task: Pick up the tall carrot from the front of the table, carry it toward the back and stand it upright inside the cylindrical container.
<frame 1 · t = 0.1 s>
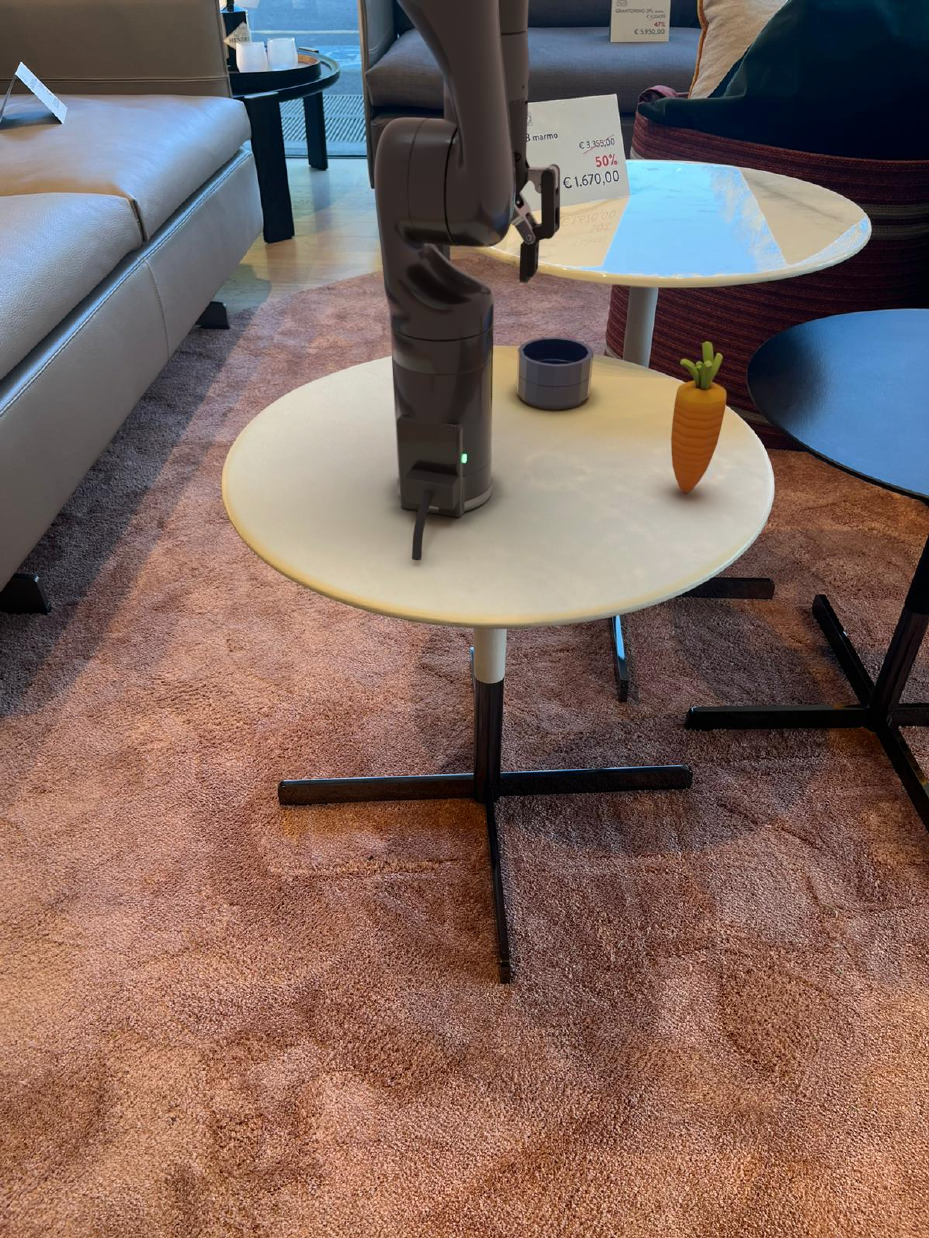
hand: (484, 276, 92), 17 cm above the table, tool pointing down, fingers open, 8 cm apart
carrot: (685, 494, 92), on the table
cylindrical container: (552, 395, 110), on the table
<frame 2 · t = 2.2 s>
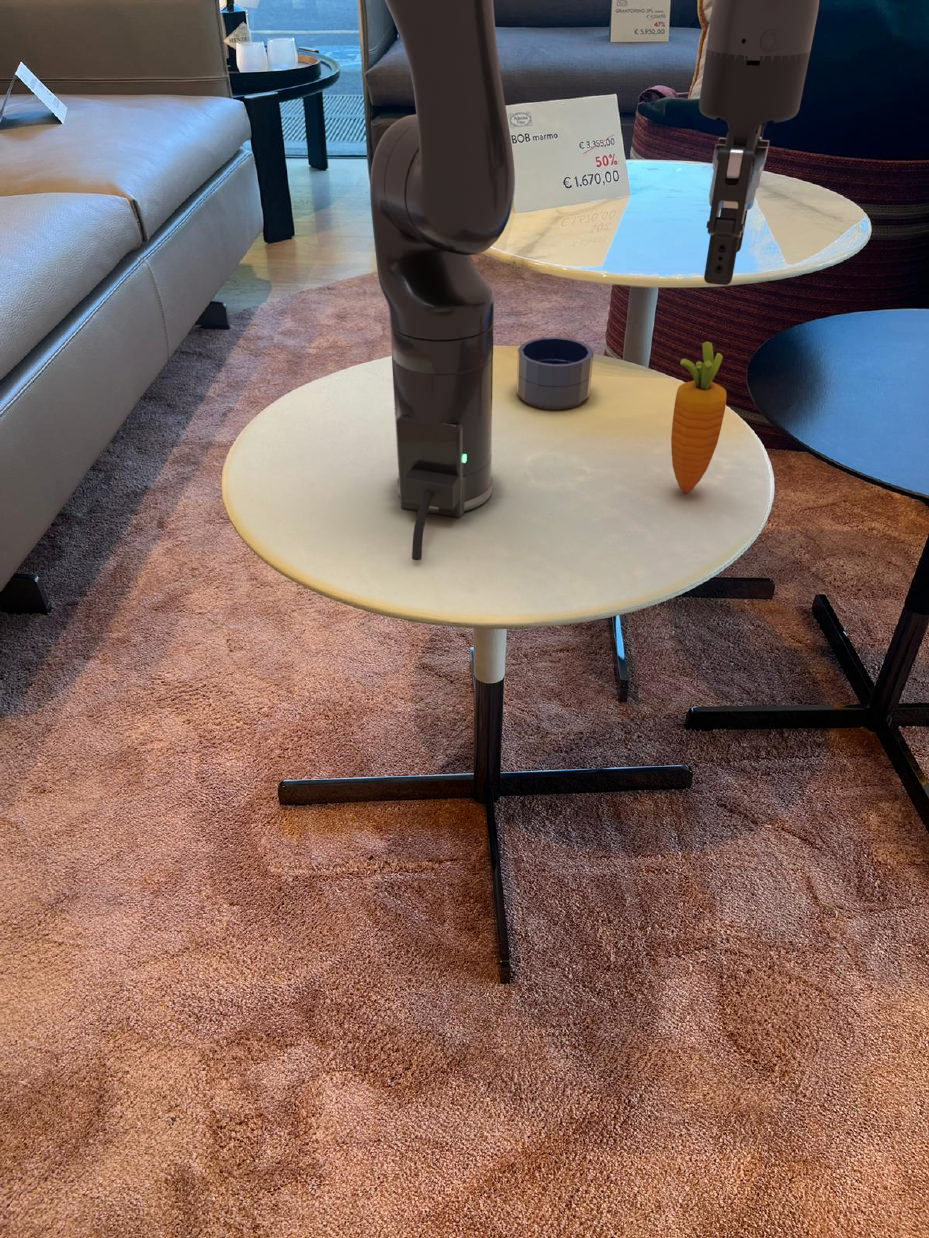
hand: (722, 266, 79), 22 cm above the table, tool pointing down, fingers open, 8 cm apart
nothing on the table moved.
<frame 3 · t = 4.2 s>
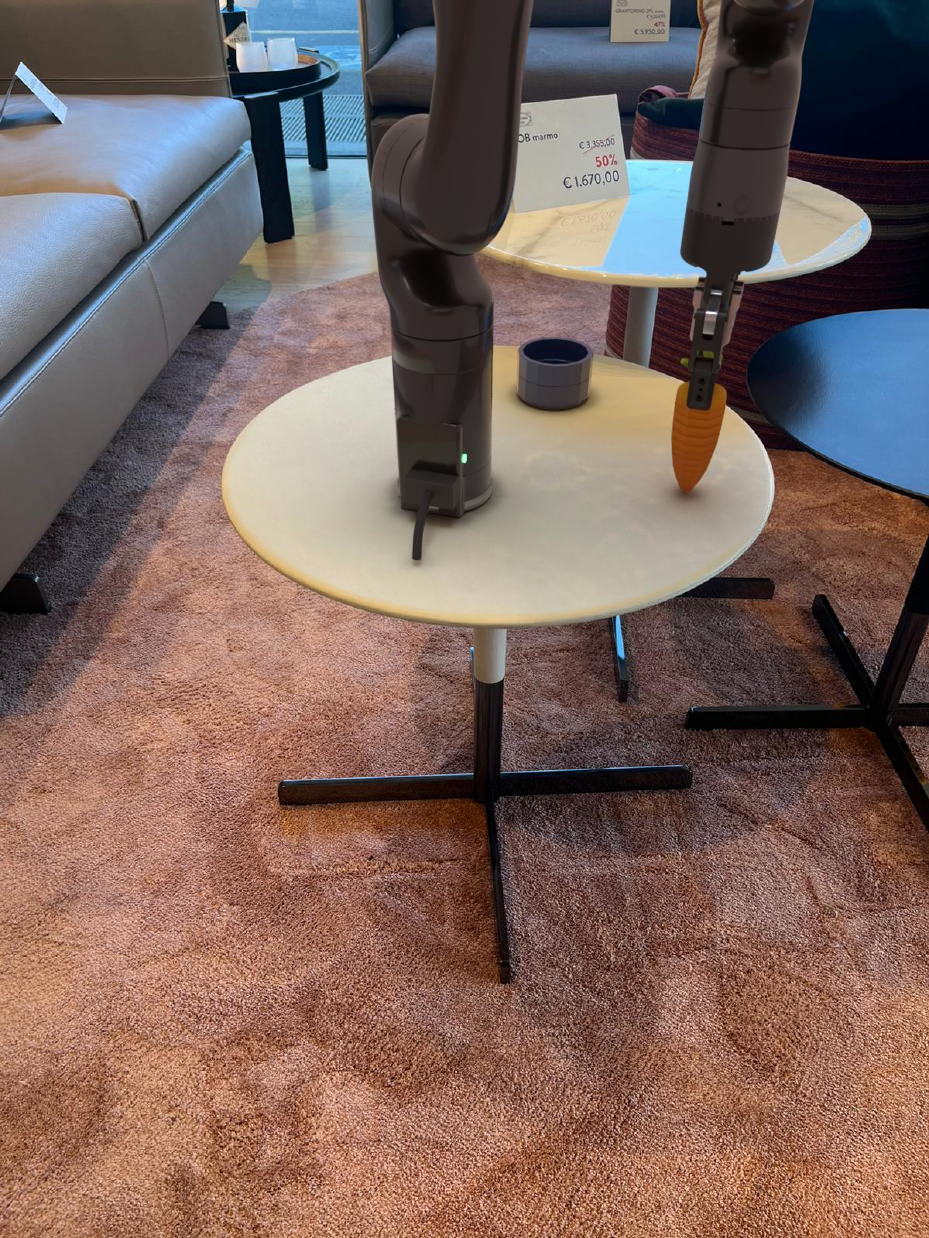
hand: (701, 395, 86), 10 cm above the table, tool pointing down, fingers closed on carrot, 4 cm apart
carrot: (685, 494, 92), on the table, touching gripper
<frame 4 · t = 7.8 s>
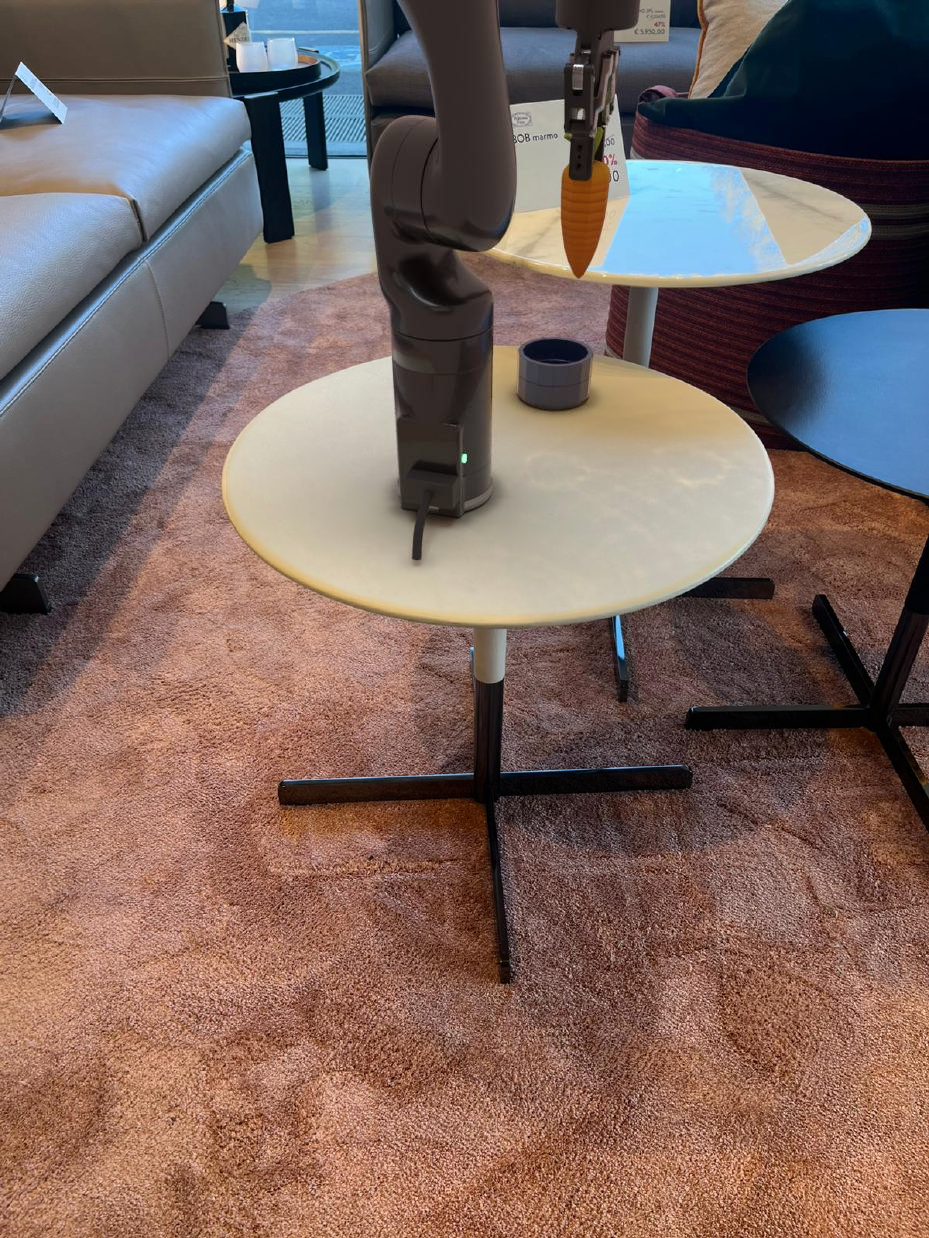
hand: (585, 172, 92), 25 cm above the table, tool pointing down, fingers closed on carrot, 4 cm apart
carrot: (578, 280, 98), point 15 cm above the table, touching gripper
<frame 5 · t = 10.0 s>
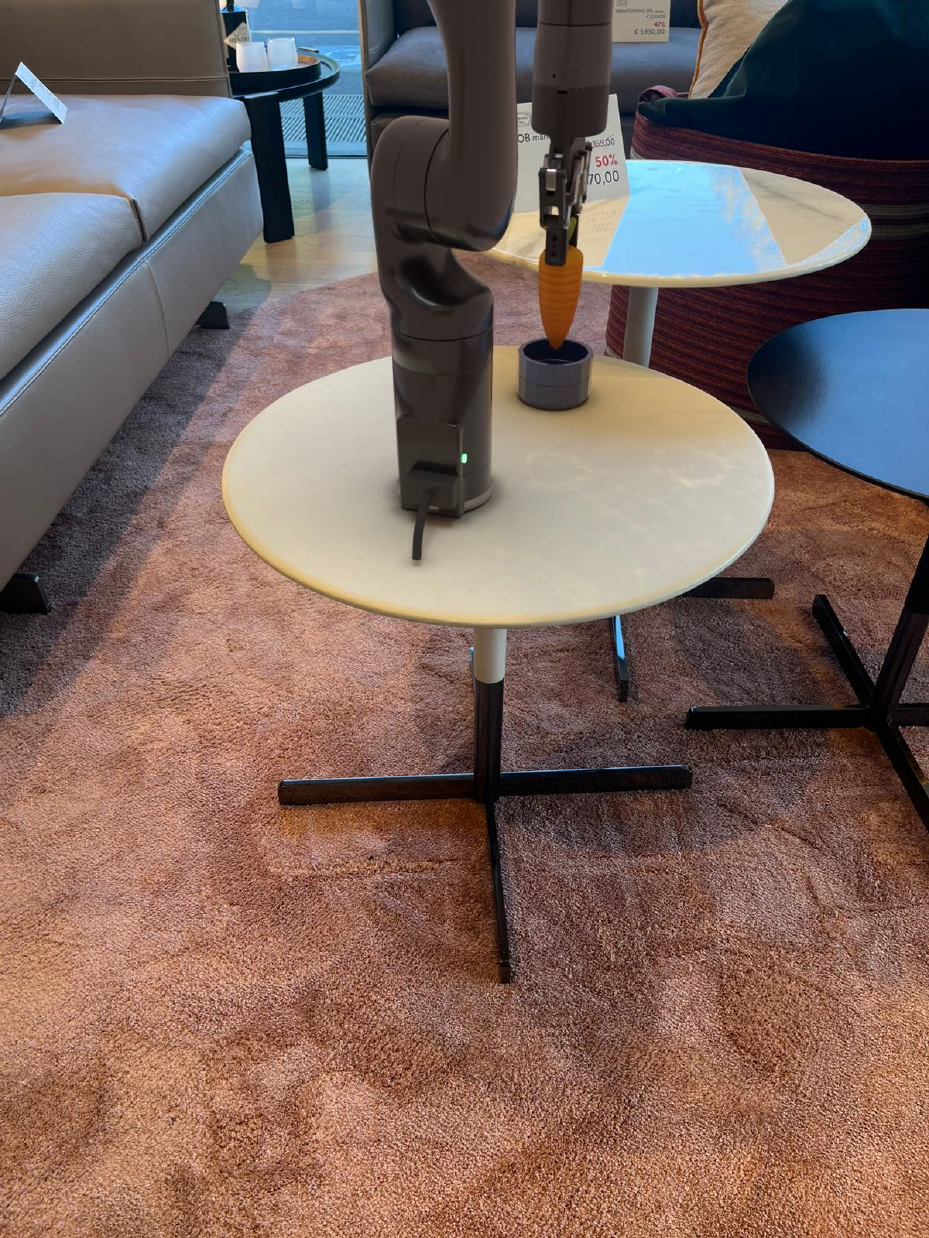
hand: (560, 257, 100), 16 cm above the table, tool pointing down, fingers closed on carrot, 4 cm apart
carrot: (555, 351, 107), point 6 cm above the table, touching gripper
when the fingers open (11 cm above the table, at t = 11.7 s): carrot stays where it is, resting on cylindrical container.
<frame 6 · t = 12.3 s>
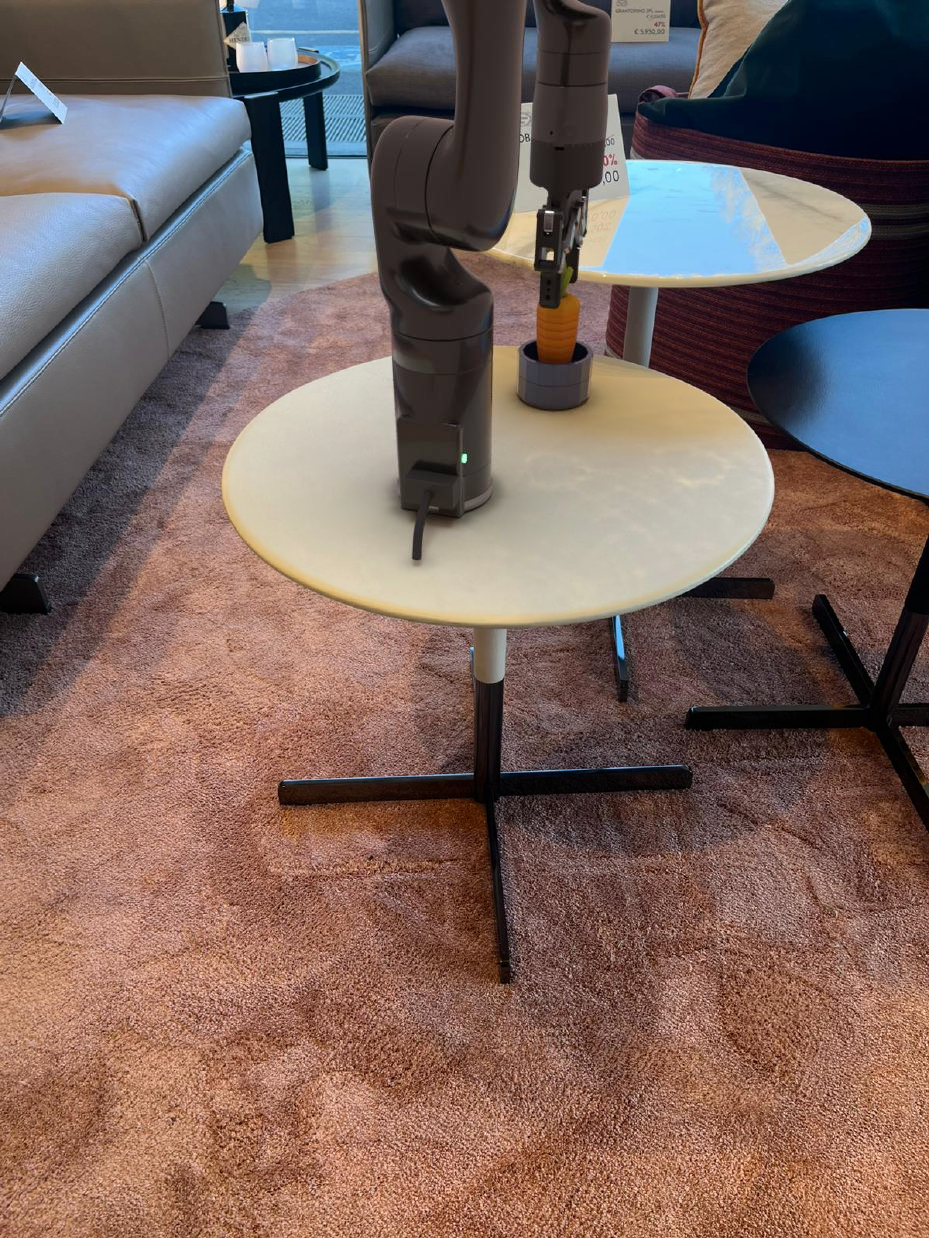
hand: (558, 294, 103), 12 cm above the table, tool pointing down, fingers open, 8 cm apart
carrot: (553, 392, 110), resting on cylindrical container
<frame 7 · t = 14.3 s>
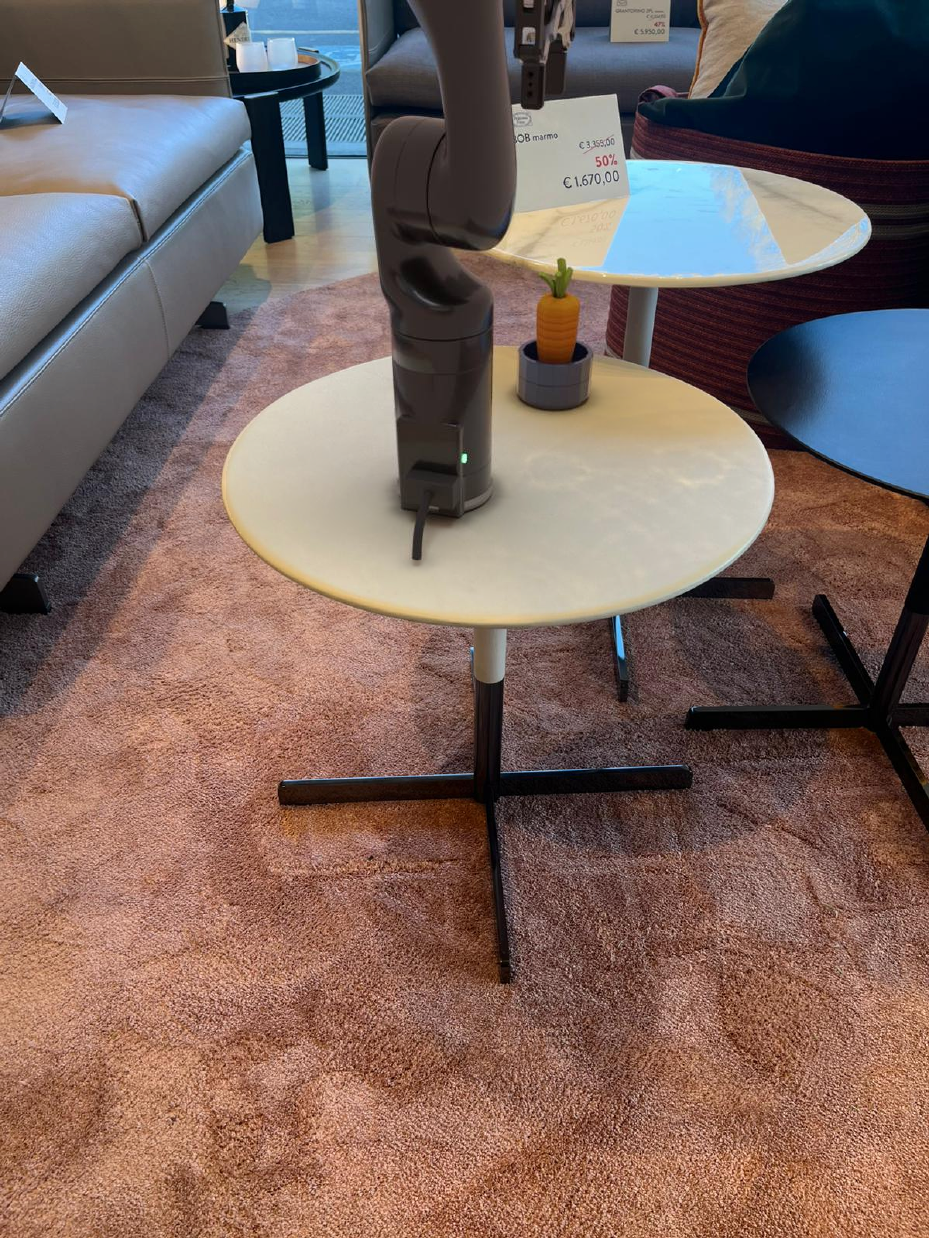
hand: (543, 101, 93), 31 cm above the table, tool pointing down, fingers open, 8 cm apart
nothing on the table moved.
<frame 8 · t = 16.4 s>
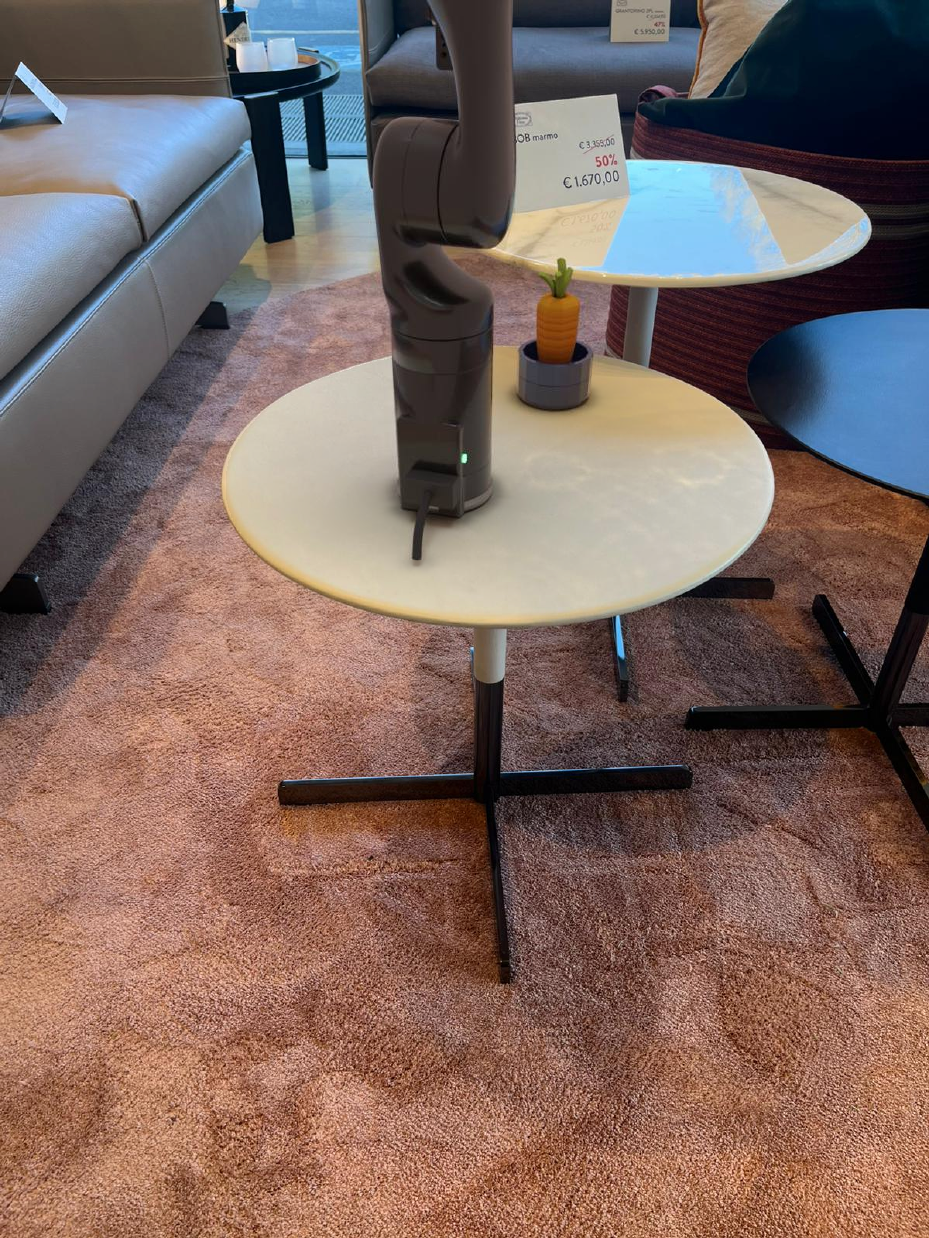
hand: (460, 64, 96), 33 cm above the table, tool pointing down, fingers open, 8 cm apart
nothing on the table moved.
at the end: carrot 0.1 cm off-centre in the cylindrical container, point 0.4 cm above the cylindrical container's base; carrot tilted 0°; the gripper is holding nothing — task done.
